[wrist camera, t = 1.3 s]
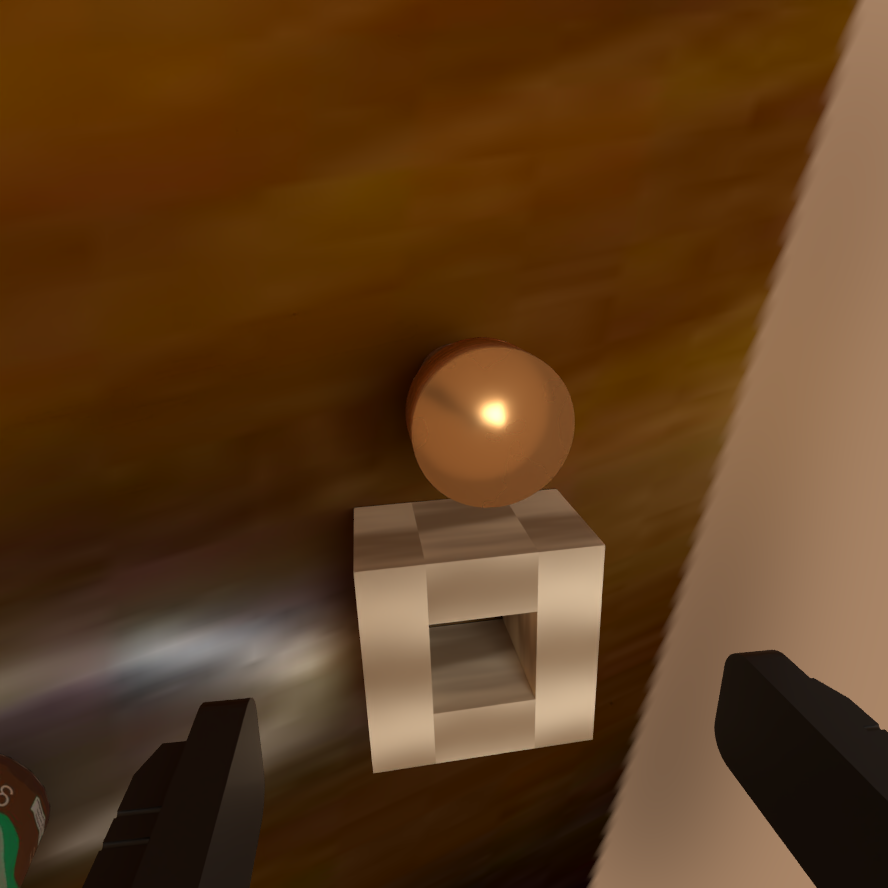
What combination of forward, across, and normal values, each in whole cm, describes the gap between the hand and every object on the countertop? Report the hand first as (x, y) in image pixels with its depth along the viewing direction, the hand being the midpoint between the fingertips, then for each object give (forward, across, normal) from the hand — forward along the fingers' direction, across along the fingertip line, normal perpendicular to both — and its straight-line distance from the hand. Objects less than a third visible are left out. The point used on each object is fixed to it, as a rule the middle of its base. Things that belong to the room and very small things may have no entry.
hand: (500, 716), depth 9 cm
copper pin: (+22, -3, -2) cm, 23 cm away
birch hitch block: (+23, -3, +12) cm, 26 cm away
